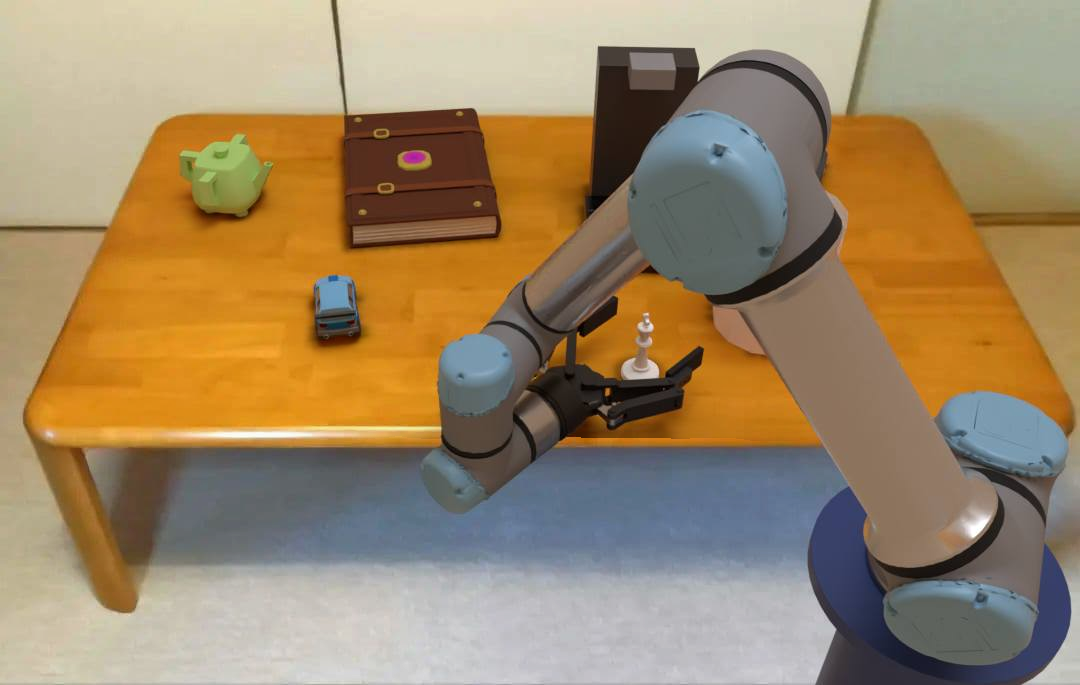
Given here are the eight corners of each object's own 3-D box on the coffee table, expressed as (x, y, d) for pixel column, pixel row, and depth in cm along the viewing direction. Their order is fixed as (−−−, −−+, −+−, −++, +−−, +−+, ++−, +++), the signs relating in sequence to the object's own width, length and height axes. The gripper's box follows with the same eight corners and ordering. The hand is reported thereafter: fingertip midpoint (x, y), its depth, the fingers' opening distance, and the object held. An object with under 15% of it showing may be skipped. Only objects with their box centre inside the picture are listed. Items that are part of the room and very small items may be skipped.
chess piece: (653, 359, 132) (661, 299, 125) (663, 385, 128) (672, 325, 122) (616, 363, 131) (622, 303, 125) (625, 389, 128) (632, 329, 121)
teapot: (210, 233, 151) (197, 176, 144) (181, 197, 158) (167, 141, 151) (284, 208, 156) (274, 152, 150) (253, 174, 163) (242, 119, 156)
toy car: (356, 288, 142) (352, 255, 138) (363, 345, 133) (358, 311, 129) (313, 293, 141) (308, 260, 137) (317, 350, 132) (311, 317, 128)
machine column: (684, 229, 154) (706, 70, 137) (591, 227, 154) (601, 68, 136) (676, 189, 162) (696, 34, 145) (589, 187, 162) (598, 32, 145)
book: (348, 248, 149) (345, 220, 145) (345, 138, 172) (342, 111, 168) (503, 237, 152) (502, 209, 148) (479, 129, 175) (478, 103, 171)
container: (693, 302, 141) (710, 192, 129) (780, 277, 146) (804, 169, 134) (750, 367, 131) (774, 255, 119) (841, 338, 136) (873, 228, 124)
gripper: (465, 385, 125) (581, 307, 136) (620, 497, 112) (733, 400, 124) (463, 339, 120) (584, 262, 131) (625, 451, 107) (743, 354, 119)
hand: (656, 329), depth 127 cm, fingers open, 13 cm apart
